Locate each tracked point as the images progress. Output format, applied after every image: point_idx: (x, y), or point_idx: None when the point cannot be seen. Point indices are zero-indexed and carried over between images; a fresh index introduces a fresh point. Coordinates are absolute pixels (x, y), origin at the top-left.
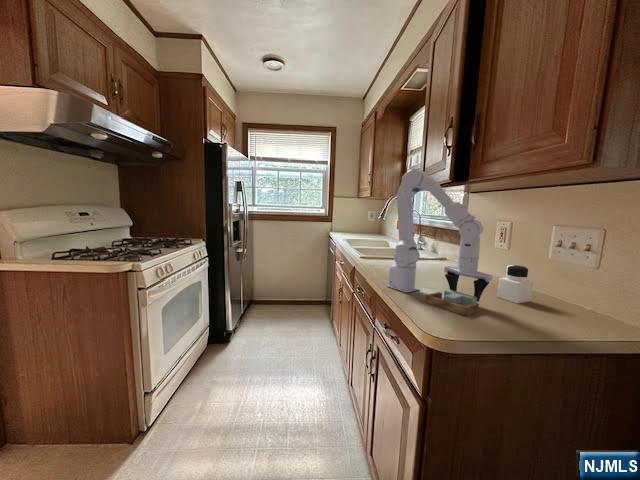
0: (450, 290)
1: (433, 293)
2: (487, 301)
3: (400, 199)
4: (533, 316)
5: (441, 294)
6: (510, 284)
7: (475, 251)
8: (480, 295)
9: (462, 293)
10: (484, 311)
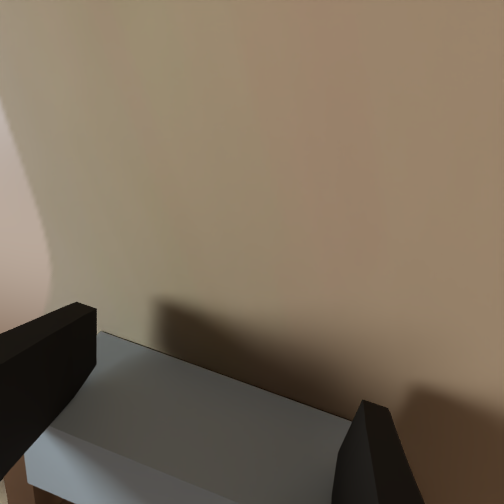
0: (47, 444)
1: (6, 480)
2: (495, 19)
3: None
4: None
5: None
6: None
7: None
8: (408, 492)
9: (187, 493)
10: (461, 472)
